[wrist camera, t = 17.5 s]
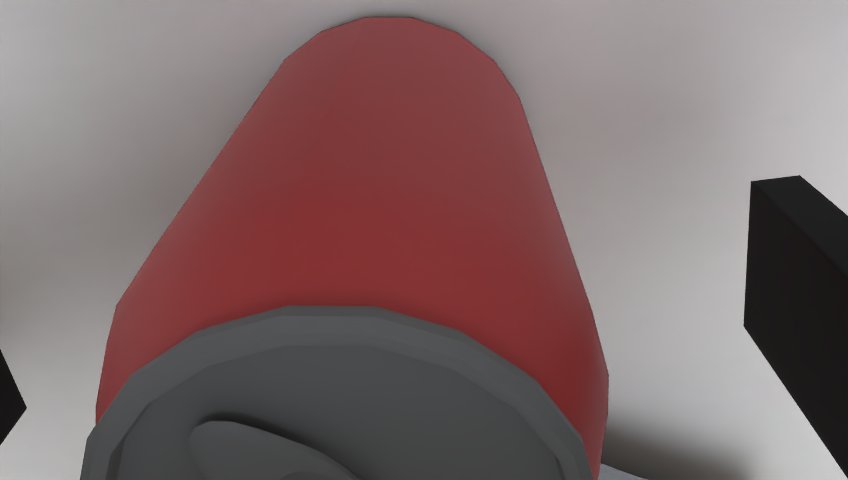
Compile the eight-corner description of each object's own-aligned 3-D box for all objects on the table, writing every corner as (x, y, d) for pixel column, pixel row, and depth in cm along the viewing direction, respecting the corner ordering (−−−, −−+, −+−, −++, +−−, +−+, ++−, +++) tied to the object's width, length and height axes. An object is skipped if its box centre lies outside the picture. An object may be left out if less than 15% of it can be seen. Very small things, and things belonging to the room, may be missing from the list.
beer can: (389, -55, 17) (313, 118, 6) (583, 150, 19) (780, 548, 8) (201, 146, 19) (-99, 536, 8) (394, 311, 21) (354, 792, 10)
